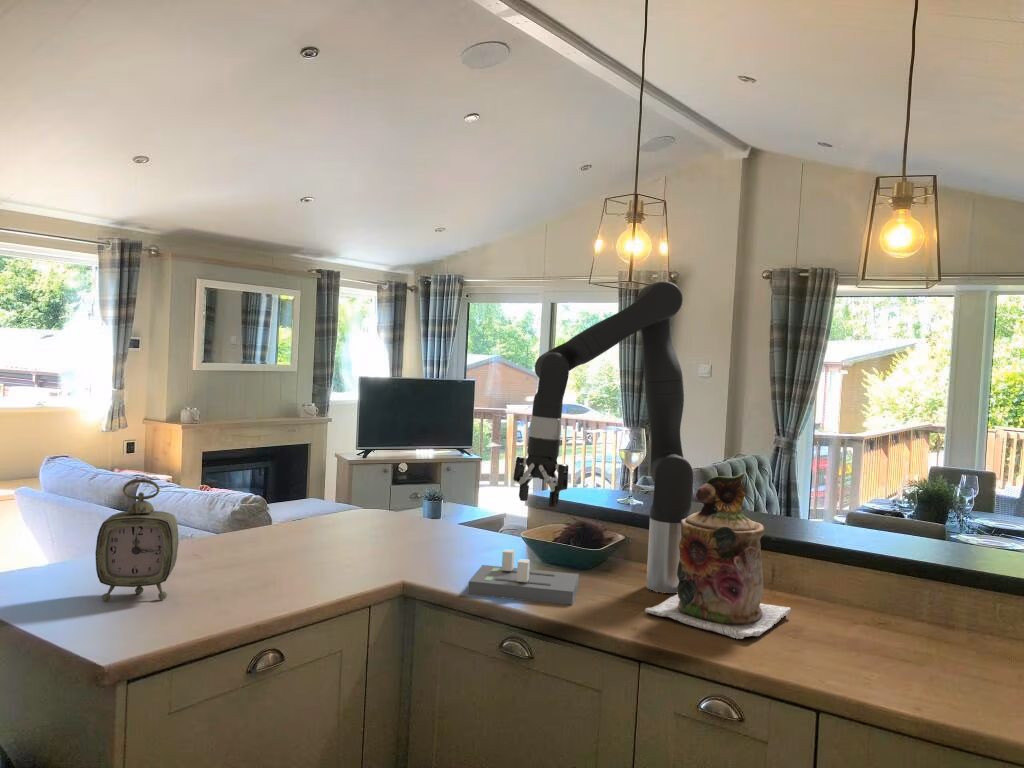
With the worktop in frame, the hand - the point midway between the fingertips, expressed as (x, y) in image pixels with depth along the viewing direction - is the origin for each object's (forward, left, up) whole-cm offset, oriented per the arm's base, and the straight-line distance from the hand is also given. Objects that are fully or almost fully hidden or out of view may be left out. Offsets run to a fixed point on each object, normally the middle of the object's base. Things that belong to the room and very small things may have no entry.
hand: (537, 503), depth 177 cm
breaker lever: (+7, -2, -17) cm, 18 cm away
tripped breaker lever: (+2, +6, -17) cm, 18 cm away
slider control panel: (+2, +2, -20) cm, 21 cm away
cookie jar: (-42, +6, -21) cm, 47 cm away
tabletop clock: (+80, +34, -21) cm, 89 cm away
